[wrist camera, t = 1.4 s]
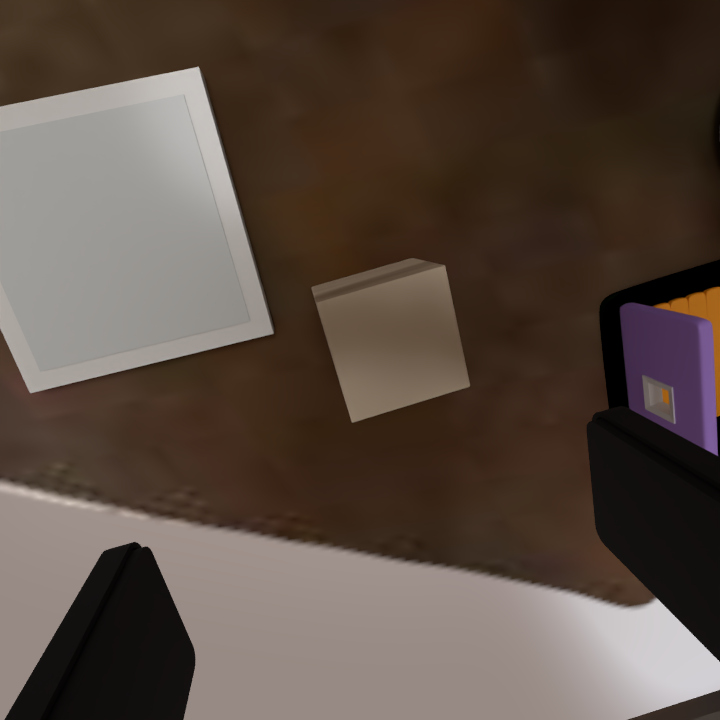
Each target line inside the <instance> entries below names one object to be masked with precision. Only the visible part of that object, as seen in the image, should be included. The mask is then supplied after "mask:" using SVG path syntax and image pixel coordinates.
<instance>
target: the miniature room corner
mask: <svg viewBox="0 0 720 720" xmlns="http://www.w3.org/2000/svg"><path fill="white" fill-rule="evenodd" d="M599 313H600V331H601V341H602V351H603V360H604V369H605V378H606V387H607V395H608V403H609V409H611V408H615V407H619V406H624V407H627V408H629V409H631V410H633V411H634V412H636V413H638V414H640V415H642V416H644V417H646V418H648V419H649V420H651V421H653V422H655V423H657V424H659V425H661V426H663V427H664V428H666V429H668V430H670V431H672V432H674V433H676V434H677V435H679V436H681V437H683V438H685V439H687V440H689V441H691V442H692V443H694V444H696V445H698V446H700V447H702V448H704V449H705V450H707V451H709V452H711V453H713V454H715V455H717V456H719V457H720V260H718V261H714V262H711V263H707V264H704V265H701V266H697V267H694V268H691V269H687V270H684V271H681V272H678V273H674V274H671V275H668V276H665V277H661V278H658V279H655V280H652V281H649V282H645V283H642V284H639V285H636V286H633V287H630V288H627V289H624V290H621V291H618V292H616V293H613V294H611V295H609V296H608V297H606V298H605V299H604V300H603V301H602V303H601V306H600V312H599Z"/></svg>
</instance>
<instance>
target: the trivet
mask: <svg viewBox="0 0 720 720" xmlns="http://www.w3.org/2000/svg"><path fill="white" fill-rule="evenodd" d="M0 329H1V331H2V333H3V335H4V337H5V340H6V342H7V344H8V346H9V348H10V351H11V353H12V355H13V357H14V359H15V361H16V364H17V366H18V368H19V370H20V372H21V374H22V377H23V379H24V381H25V383H26V385H27V388H28V390H29V392H30V393H33V392H38V391H42V390H46V389H50V388H54V387H58V386H62V385H66V384H70V383H74V382H78V381H83V380H87V379H91V378H95V377H99V376H103V375H107V374H111V373H115V372H119V371H123V370H127V369H132V368H136V367H140V366H144V365H148V364H152V363H156V362H160V361H164V360H168V359H172V358H177V357H181V356H185V355H189V354H193V353H197V352H201V351H205V350H209V349H213V348H217V347H221V346H226V345H230V344H234V343H238V342H242V341H246V340H250V339H254V338H258V337H262V336H266V335H271V334H274V326H273V322H272V318H271V315H270V311H269V308H268V304H267V301H266V297H265V293H264V290H263V286H262V283H261V279H260V276H259V272H258V268H257V265H256V261H255V258H254V254H253V251H252V247H251V243H250V240H249V236H248V233H247V229H246V226H245V222H244V218H243V215H242V211H241V208H240V204H239V201H238V197H237V193H236V190H235V186H234V183H233V179H232V176H231V172H230V168H229V165H228V161H227V158H226V154H225V151H224V147H223V143H222V140H221V136H220V133H219V129H218V126H217V122H216V118H215V115H214V111H213V108H212V104H211V101H210V97H209V93H208V90H207V86H206V83H205V79H204V76H203V74H202V72H201V70H200V68H199V67H196V68H191V69H186V70H181V71H176V72H171V73H166V74H161V75H156V76H151V77H146V78H141V79H136V80H131V81H126V82H121V83H116V84H111V85H106V86H101V87H96V88H91V89H86V90H81V91H76V92H71V93H66V94H61V95H56V96H51V97H46V98H41V99H36V100H31V101H26V102H21V103H16V104H11V105H7V106H2V107H0Z"/></svg>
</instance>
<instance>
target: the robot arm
mask: <svg viewBox="0 0 720 720" xmlns="http://www.w3.org/2000/svg"><path fill="white" fill-rule="evenodd" d="M587 438H588V449H589V460H590V471H591V482H592V493H593V504H594V515H595V525H596V530H597V533H598V535H599V537H600V539H601V541H602V542H603V543H604V545H605V546H606V547H607V548H608V549H609V550H610V551H611V552H612V553H613V554H614V555H615V556H616V557H617V558H618V559H619V560H620V561H621V562H622V563H623V564H624V565H625V566H626V567H627V568H628V569H629V570H630V571H631V572H632V573H633V574H634V575H635V576H636V577H637V578H638V579H639V580H640V581H641V582H642V583H643V584H644V585H645V586H646V587H647V588H648V589H649V590H650V591H651V592H652V593H653V594H654V595H655V596H656V597H657V598H658V599H659V600H660V602H661V603H662V604H663V605H664V606H665V607H666V608H667V609H669V611H670V612H671V613H672V614H673V615H674V616H675V617H676V618H677V619H678V620H679V621H680V622H681V623H682V624H683V625H684V626H685V627H686V628H687V629H688V630H689V631H690V632H691V633H692V634H693V635H694V636H695V637H696V638H697V639H698V640H699V641H700V642H701V643H702V644H703V645H704V646H705V647H706V648H707V649H708V650H709V651H710V652H711V653H712V654H713V655H714V656H715V657H716V658H717V659H718V660H719V661H720V457H719V456H717V455H715V454H713V453H711V452H709V451H707V450H705V449H704V448H702V447H700V446H698V445H696V444H694V443H692V442H691V441H689V440H687V439H685V438H683V437H681V436H679V435H677V434H676V433H674V432H672V431H670V430H668V429H666V428H664V427H663V426H661V425H659V424H657V423H655V422H653V421H651V420H649V419H648V418H646V417H644V416H642V415H640V414H638V413H636V412H634V411H633V410H631V409H629V408H627V407H624V406H619V407H615V408H611V409H608V410H604V411H601V412H597V413H595V414H594V415H593V418H592V421H591V422H589V423H588V424H587ZM194 669H195V652H194V648H193V645H192V643H191V640H190V638H189V636H188V633H187V631H186V629H185V627H184V624H183V622H182V620H181V618H180V615H179V613H178V611H177V608H176V606H175V604H174V601H173V599H172V597H171V595H170V592H169V590H168V588H167V585H166V583H165V581H164V579H163V576H162V574H161V572H160V569H159V567H158V565H157V562H156V560H155V558H154V555H153V553H152V551H151V550H150V548H148V547H143V548H142V547H141V546H140V545H139V544H138V543H136V542H133V543H129V544H126V545H122V546H119V547H115V548H112V549H108V550H106V551H104V552H103V553H102V554H101V556H100V558H99V559H98V561H97V563H96V565H95V566H94V568H93V570H92V571H91V573H90V575H89V577H88V578H87V580H86V582H85V583H84V585H83V587H82V588H81V590H80V592H79V594H78V595H77V597H76V599H75V600H74V602H73V604H72V605H71V607H70V609H69V611H68V612H67V614H66V616H65V618H64V619H63V621H62V623H61V624H60V626H59V628H58V629H57V631H56V633H55V634H54V636H53V638H52V640H51V641H50V643H49V645H48V646H47V648H46V650H45V652H44V653H43V655H42V657H41V658H40V660H39V662H38V663H37V665H36V667H35V669H34V670H33V672H32V674H31V675H30V677H29V679H28V681H27V682H26V684H25V686H24V687H23V689H22V691H21V692H20V694H19V696H18V698H17V699H16V701H15V703H14V704H13V706H12V708H11V710H10V711H9V713H8V715H7V716H6V718H5V720H183V719H184V714H185V710H186V705H187V701H188V696H189V691H190V687H191V683H192V678H193V673H194ZM628 720H720V690H719V691H716V692H712V693H709V694H706V695H703V696H700V697H697V698H694V699H691V700H688V701H685V702H681V703H678V704H675V705H672V706H669V707H666V708H663V709H660V710H656V711H653V712H650V713H647V714H644V715H641V716H638V717H635V718H632V719H628Z"/></svg>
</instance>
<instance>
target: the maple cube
mask: <svg viewBox="0 0 720 720" xmlns="http://www.w3.org/2000/svg"><path fill="white" fill-rule="evenodd" d="M311 289H312V292H313V296H314V299H315V302H316V306H317V309H318V313H319V316H320V319H321V323H322V326H323V329H324V333H325V336H326V339H327V343H328V346H329V349H330V353H331V356H332V359H333V363H334V366H335V369H336V373H337V376H338V380H339V383H340V386H341V389H342V393H343V396H344V399H345V402H346V405H347V408H348V412H349V415H350V418H351V421H352V423H353V422H356V421H360V420H363V419H366V418H369V417H373V416H376V415H379V414H382V413H385V412H389V411H392V410H395V409H398V408H402V407H405V406H408V405H411V404H415V403H418V402H421V401H424V400H428V399H431V398H434V397H437V396H441V395H444V394H447V393H450V392H454V391H457V390H460V389H463V388H467V387H470V383H469V378H468V373H467V369H466V364H465V359H464V354H463V349H462V345H461V340H460V335H459V330H458V325H457V321H456V316H455V311H454V306H453V302H452V297H451V292H450V287H449V282H448V278H447V273H446V268H445V265H441V264H437V263H433V262H428V261H424V260H419V259H415V258H410V259H407V260H403V261H400V262H396V263H393V264H389V265H386V266H383V267H379V268H376V269H372V270H369V271H365V272H362V273H358V274H355V275H351V276H348V277H344V278H341V279H337V280H334V281H330V282H327V283H324V284H320V285H317V286H313V287H311Z"/></svg>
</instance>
